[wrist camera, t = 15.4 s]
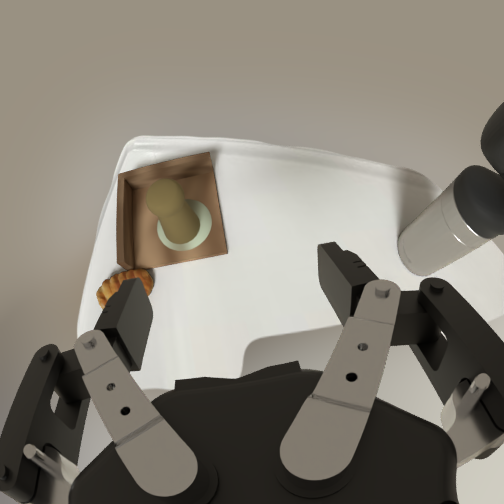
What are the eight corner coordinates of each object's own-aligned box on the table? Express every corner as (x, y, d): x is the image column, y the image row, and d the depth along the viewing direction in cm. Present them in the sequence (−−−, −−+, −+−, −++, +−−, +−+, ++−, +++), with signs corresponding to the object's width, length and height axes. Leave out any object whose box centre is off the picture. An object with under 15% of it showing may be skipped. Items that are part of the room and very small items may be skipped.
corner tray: (213, 169, 49) (209, 151, 44) (227, 253, 44) (223, 241, 39) (128, 188, 48) (118, 174, 43) (130, 272, 43) (117, 263, 38)
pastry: (143, 260, 44) (134, 253, 40) (163, 295, 42) (154, 290, 38) (99, 291, 42) (88, 286, 39) (116, 326, 40) (105, 324, 37)
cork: (162, 245, 43) (136, 214, 33) (164, 211, 45) (142, 174, 35) (200, 243, 43) (183, 210, 33) (200, 207, 45) (185, 168, 35)
